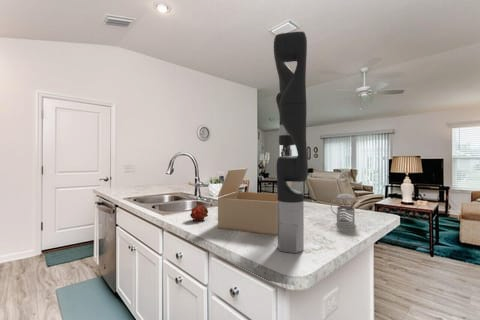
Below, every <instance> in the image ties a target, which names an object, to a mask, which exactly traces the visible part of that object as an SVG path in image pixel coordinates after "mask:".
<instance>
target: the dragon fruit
mask: <svg viewBox="0 0 480 320" xmlns="http://www.w3.org/2000/svg"><path fill="white" fill-rule="evenodd" d="M190 211H191V212H190V213H189V214H190V215H189V216H190V218H191V219H192V221H193V222H198V221H199V220H200V221H201V222H202V221H203V220H205V218H206V217H207V218H208V216H209V214H208V213H209V211H208V208H207V207H206V205H203V206H202V205H201V204H198V206H197V205H195V206H194V208H192V209H191V210H190Z"/></svg>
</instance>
